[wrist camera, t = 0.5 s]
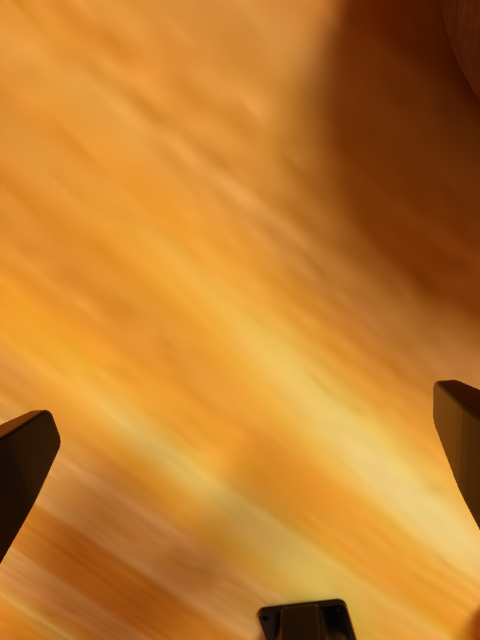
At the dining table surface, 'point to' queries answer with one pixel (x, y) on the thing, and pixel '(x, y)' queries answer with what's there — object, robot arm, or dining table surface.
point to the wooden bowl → (464, 36)
